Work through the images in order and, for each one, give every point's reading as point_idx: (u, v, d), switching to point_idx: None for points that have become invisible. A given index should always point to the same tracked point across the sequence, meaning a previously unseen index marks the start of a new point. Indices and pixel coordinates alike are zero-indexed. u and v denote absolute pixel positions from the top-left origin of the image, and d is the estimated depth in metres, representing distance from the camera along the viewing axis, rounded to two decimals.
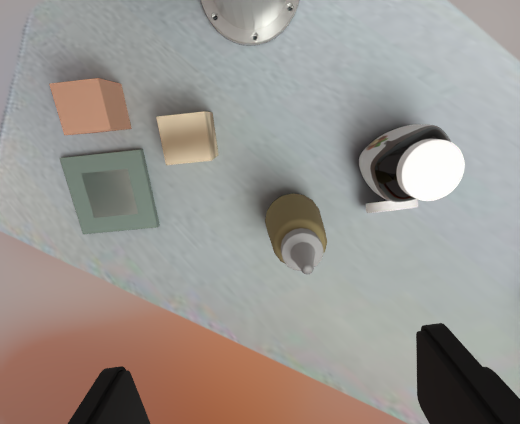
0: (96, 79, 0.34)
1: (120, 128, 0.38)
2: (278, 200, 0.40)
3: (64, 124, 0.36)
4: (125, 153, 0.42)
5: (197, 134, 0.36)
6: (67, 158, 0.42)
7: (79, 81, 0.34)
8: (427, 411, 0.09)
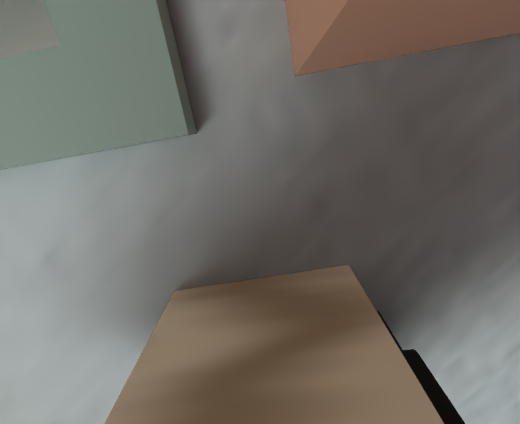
0: None
1: (324, 43, 0.05)
2: None
3: None
4: (152, 40, 0.07)
5: None
6: None
7: None
8: None
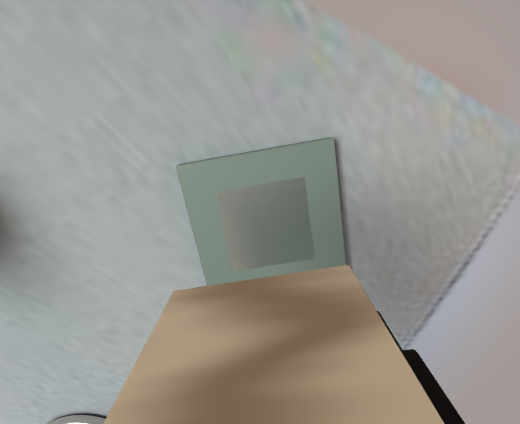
0: None
1: None
2: None
3: None
4: None
5: None
6: None
7: None
8: None
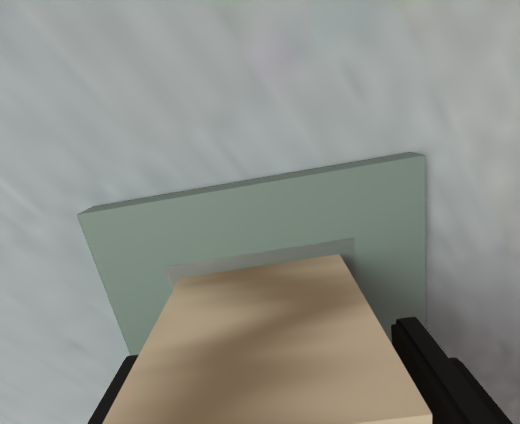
0: None
1: None
2: None
3: None
4: None
5: None
6: None
7: None
8: None
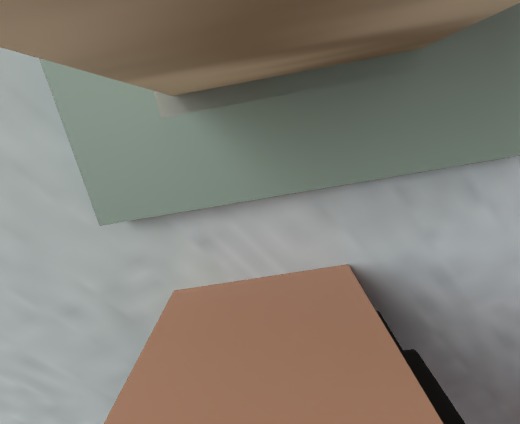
0: None
1: None
2: None
3: None
4: (172, 202, 0.08)
5: None
6: (497, 153, 0.07)
7: None
8: None
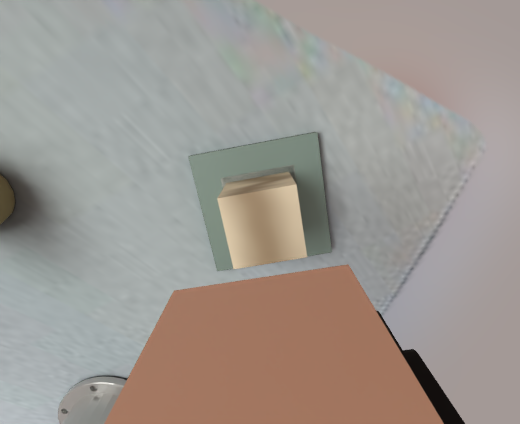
0: None
1: None
2: None
3: None
4: None
5: (272, 247, 0.23)
6: (320, 252, 0.29)
7: None
8: None
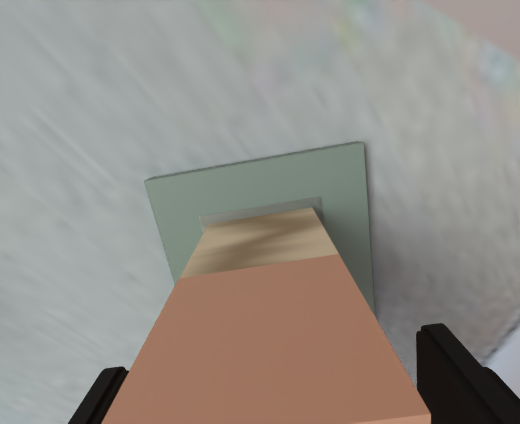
0: None
1: None
2: None
3: None
4: None
5: None
6: None
7: None
8: None
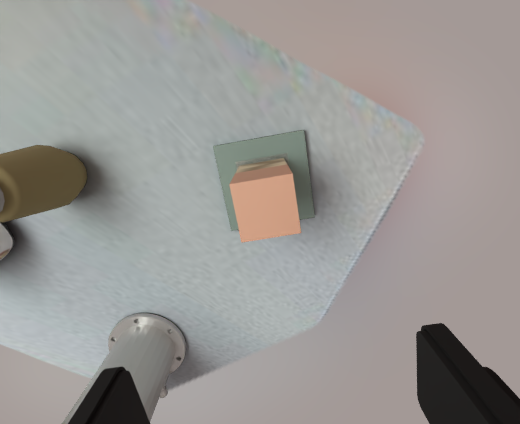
0: (243, 240, 0.29)
1: (232, 180, 0.30)
2: (67, 202, 0.37)
3: (290, 187, 0.27)
4: None
5: None
6: (306, 217, 0.41)
7: (264, 237, 0.29)
8: (427, 411, 0.09)
